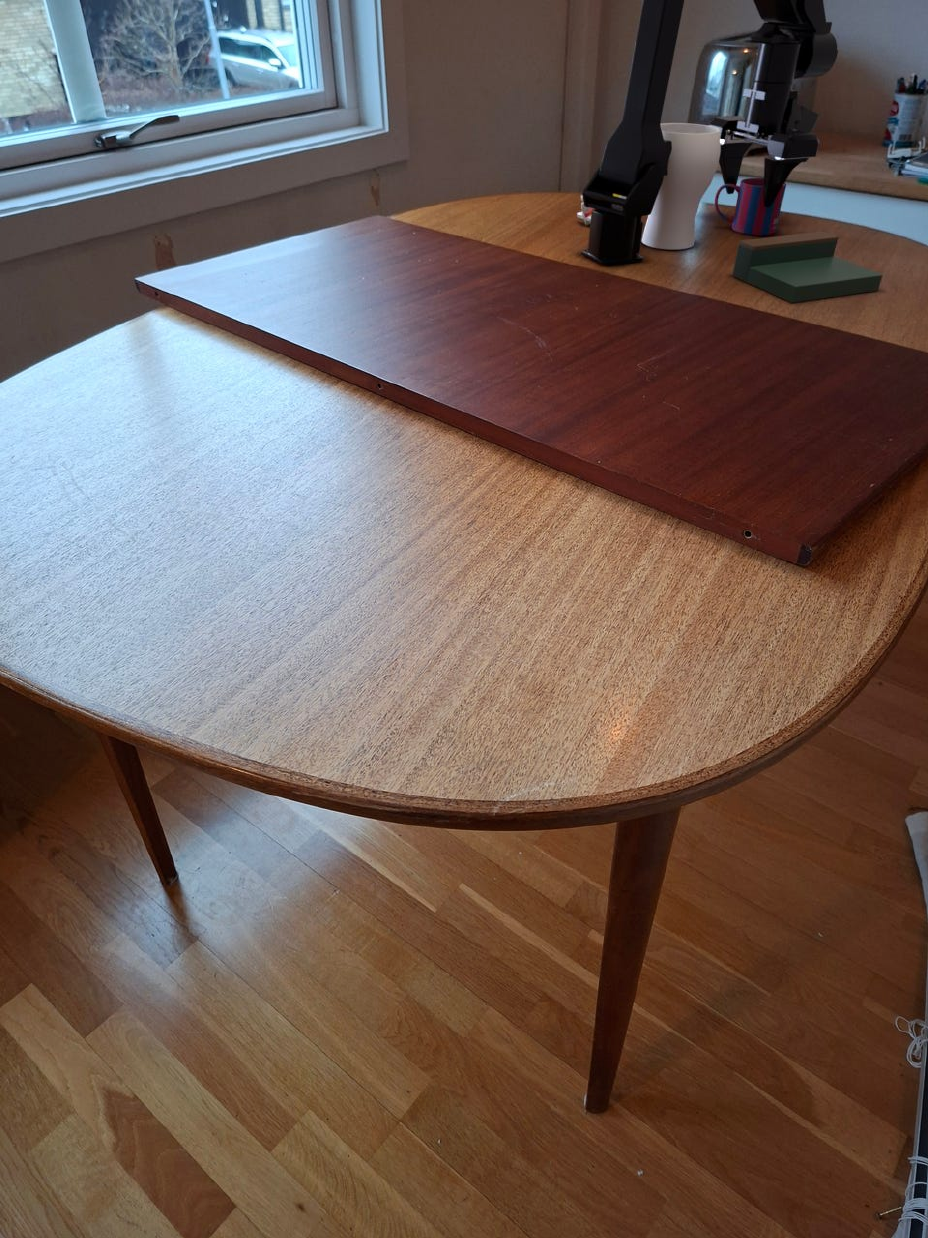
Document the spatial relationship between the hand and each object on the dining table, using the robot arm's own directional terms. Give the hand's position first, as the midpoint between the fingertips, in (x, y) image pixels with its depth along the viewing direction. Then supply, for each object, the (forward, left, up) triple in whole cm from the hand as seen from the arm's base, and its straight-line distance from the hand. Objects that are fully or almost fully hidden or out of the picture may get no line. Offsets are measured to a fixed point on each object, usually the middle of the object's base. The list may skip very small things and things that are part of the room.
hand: (748, 199), depth 131 cm
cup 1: (-16, -3, -4) cm, 17 cm away
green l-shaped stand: (-10, -26, -4) cm, 28 cm away
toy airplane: (-19, +11, -4) cm, 22 cm away
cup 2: (0, 0, -4) cm, 4 cm away
